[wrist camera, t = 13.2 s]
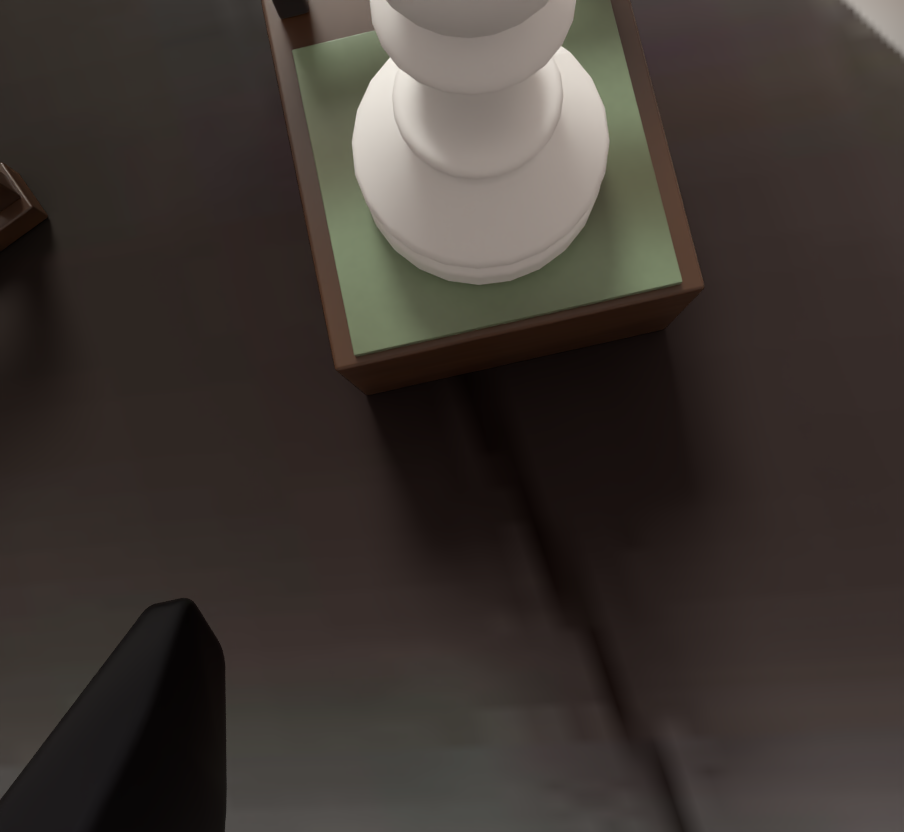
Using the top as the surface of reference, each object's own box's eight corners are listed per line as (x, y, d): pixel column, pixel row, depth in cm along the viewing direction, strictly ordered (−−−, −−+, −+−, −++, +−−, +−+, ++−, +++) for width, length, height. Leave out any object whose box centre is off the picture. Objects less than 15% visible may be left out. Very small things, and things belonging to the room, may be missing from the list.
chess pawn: (478, 336, 17) (457, 144, 8) (316, 173, 17) (120, -183, 8) (649, 171, 17) (824, -206, 8) (483, 15, 17) (469, -503, 8)
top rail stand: (666, 329, 21) (743, 251, 14) (365, 396, 21) (307, 349, 14) (585, 12, 22) (623, -194, 15) (300, 79, 22) (219, -95, 15)
